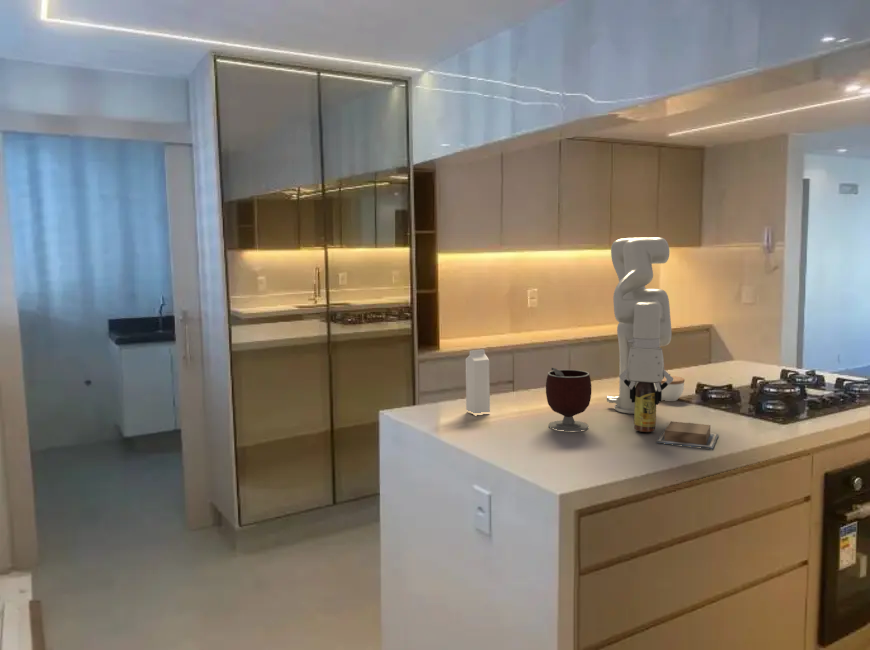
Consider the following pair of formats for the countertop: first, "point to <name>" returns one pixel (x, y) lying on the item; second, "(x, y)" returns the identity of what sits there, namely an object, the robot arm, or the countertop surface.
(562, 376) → the mate gourd
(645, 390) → the sauce bottle
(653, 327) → the robot arm
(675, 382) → the lidded jar
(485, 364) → the milk
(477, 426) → the countertop surface
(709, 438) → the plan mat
